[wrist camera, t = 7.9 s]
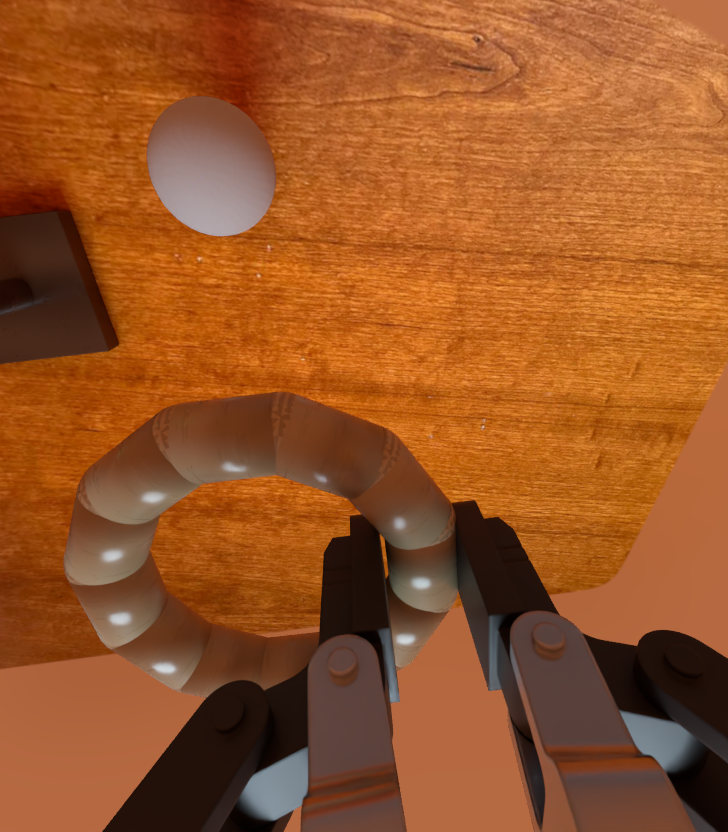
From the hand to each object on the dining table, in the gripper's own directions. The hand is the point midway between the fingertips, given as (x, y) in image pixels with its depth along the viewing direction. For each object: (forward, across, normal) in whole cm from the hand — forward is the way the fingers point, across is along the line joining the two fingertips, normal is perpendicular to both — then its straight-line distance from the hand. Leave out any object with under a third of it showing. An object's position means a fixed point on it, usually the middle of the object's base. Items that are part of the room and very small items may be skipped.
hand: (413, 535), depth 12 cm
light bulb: (+23, +7, -11) cm, 26 cm away
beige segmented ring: (-1, +4, 0) cm, 4 cm away
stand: (+23, +23, -6) cm, 33 cm away
